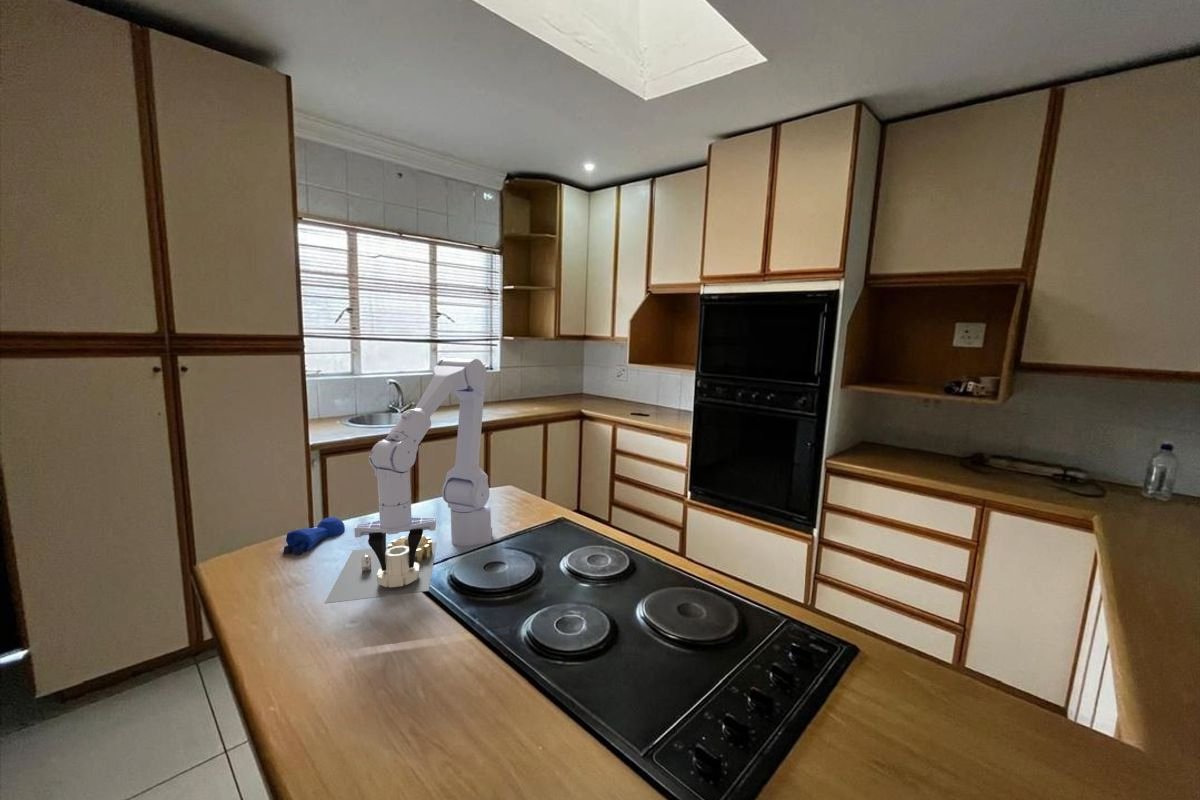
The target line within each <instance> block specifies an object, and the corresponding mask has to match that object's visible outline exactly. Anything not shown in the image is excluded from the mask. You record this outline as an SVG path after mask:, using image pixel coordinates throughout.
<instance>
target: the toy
mask: <svg viewBox="0 0 1200 800" xmlns="http://www.w3.org/2000/svg"><path fill="white" fill-rule="evenodd" d="M345 531H346V527H345V523H344V522H343V521H342V520H341V519H339V518H337V517H335V516H331V517H326V518H325V517H324V518H323V519H321V520H320V522H318V524H317V527H313V528H302V529H296V530H291V531H289V532H287V534H286V539H285V541H286V544H287V545H285V546H284V547H283V554H284V555H290V554H291V553H292V552H293V554H294V556H301V555H303V550H304V552H309V551H310V550H312V548H314V546H315V545H317V543H318V542H320V541H321V540H322V539H325V538H334V537H338V536H340V535H342V534H344V533H345Z"/></svg>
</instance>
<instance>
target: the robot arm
mask: <svg viewBox="0 0 1200 800" xmlns="http://www.w3.org/2000/svg"><path fill="white" fill-rule="evenodd" d="M487 372H488V369H486V366H485V365H484V364H483V362H482V361H481V360H480V359H478V358H472V359H471V358H470V359H469V358H467V359H466V358H449V357H442V358H440V359H439V360H438V361H437V363H436V365H435V366H434V367H433V368H432V379H431V381H430V383H429V384H428V386H427V388H426V389H425V391H424V393H422V394H423V395H422V396H421V398H420V399H419V401H418V403H417V404H416V406H415V407H414V408H409V409H407V410H405V411H403V412H402V413H401V415H400V419H398V421H397V422H396V423H395V425H394V427H393V428H392V429H391V431H390V432H389V433H388V434H387V436H386V437H385V439H381V440H379V441H378V442H377V443H375V444H374V445H373V446H372V449H371V450H370V453H369V454H370V455H368V461H369V465H370V466H371V467H372V468H373V470H374V477H376V479H377V495H378V509H379V510H378V512H379V520H375V521H370V522H365V523H363V522H362V523H357V524H356V525H355V526H354V527H353V529H354V538H356V539H357V538H362V537H363V536H368V541H367V543H368V546H369V547H370V549H371V548H372V549H373V551H374V552H375V554H376V555H377V557H378V560H379V562H380V565H381V568H382V571H386V564H385V552H386V547H387V535H398V534H399V533H406V532H409V533H408V535H407V537H408V544H409V568H413V567H414V560H415V553H416V550H417V547H418V544H419V542H420V540H421V537H422V535H424V533H423V532H424V531H427V530H429V531H430V532H433V531H436V527H437V521H436V517H419V516H417V517H414V516H412V499H411V496H412V495H411V477H410V476H411V475H410V469H411V468H412V467H413V466H414V465H415V462H416V460H417V453H418V450H419V449H418V448H419V444H420V443H421V442H422V440H423V439H424V437H425V436H426V434H427V432H429V429H430V428H431V426H432V420H431V416H432V415H433V414H434V412H435V411H437V409H438V408H439V407H440V406H441V404H442V403H443V402H444V400H445V399H446V398H447V397H448V396H449V394H450V393H454V395H456V396H457V398H458V399H459V411H458V423H457V424H458V426H457V436H456V438H457V439H456V451H455V463H454V464H455V465H454V467H452V468H451V469H450V470H448V471H447V473H446V474H445V481H444V483H443V485H442V489H441V494H442V495H441V496H442V499H443V501H444V502H445V503H446V504H447V508H448V509H450V532H451V533H450V534H451V535H450V537H451V543H452V545H454V546H458V547H470V546H475V545H481V544H490V543H492V536H493V527H492V516H491V515H492V513H491V511H492V510H491V505H490V504H487V503H488V501H489V498H490V486H489V481H488V480H489V476H488V474H487V473H486V472H485V471H484V470H483V469H482V468H481V467H480V466H479V464H480V451H481V440H482V437H481V436H482V427H483V426H482V424H483V414H484V413H483V411H484V401H485V400H484V397H485V395H486V387H487V386H486V385H487V374H488V373H487ZM435 413H436V412H435Z"/></svg>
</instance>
